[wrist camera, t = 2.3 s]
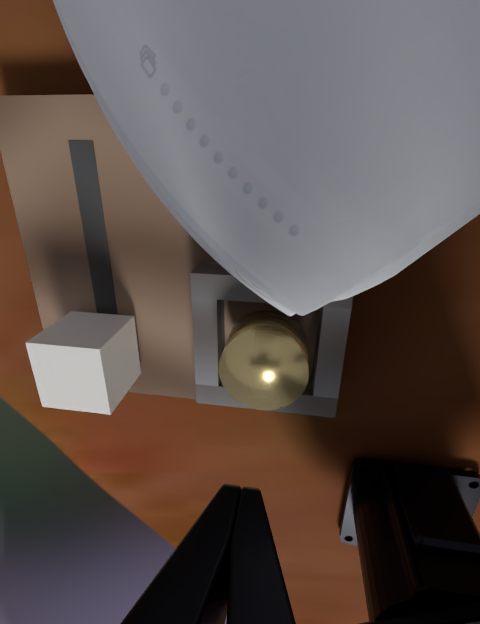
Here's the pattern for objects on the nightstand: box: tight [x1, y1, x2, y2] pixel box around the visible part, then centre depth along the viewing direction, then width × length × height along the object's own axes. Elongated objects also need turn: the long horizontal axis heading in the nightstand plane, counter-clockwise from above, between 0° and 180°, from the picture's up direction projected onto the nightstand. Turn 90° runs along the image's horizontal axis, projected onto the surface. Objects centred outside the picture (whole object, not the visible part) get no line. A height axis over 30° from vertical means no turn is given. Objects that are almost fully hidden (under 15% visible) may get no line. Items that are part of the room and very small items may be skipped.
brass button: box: [219, 310, 309, 410], centre depth 13 cm, size 3×3×2 cm
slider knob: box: [25, 311, 141, 415], centre depth 15 cm, size 3×3×3 cm
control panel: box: [0, 94, 353, 418], centre depth 15 cm, size 13×14×3 cm
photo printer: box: [53, 0, 480, 316], centre depth 8 cm, size 10×4×12 cm
